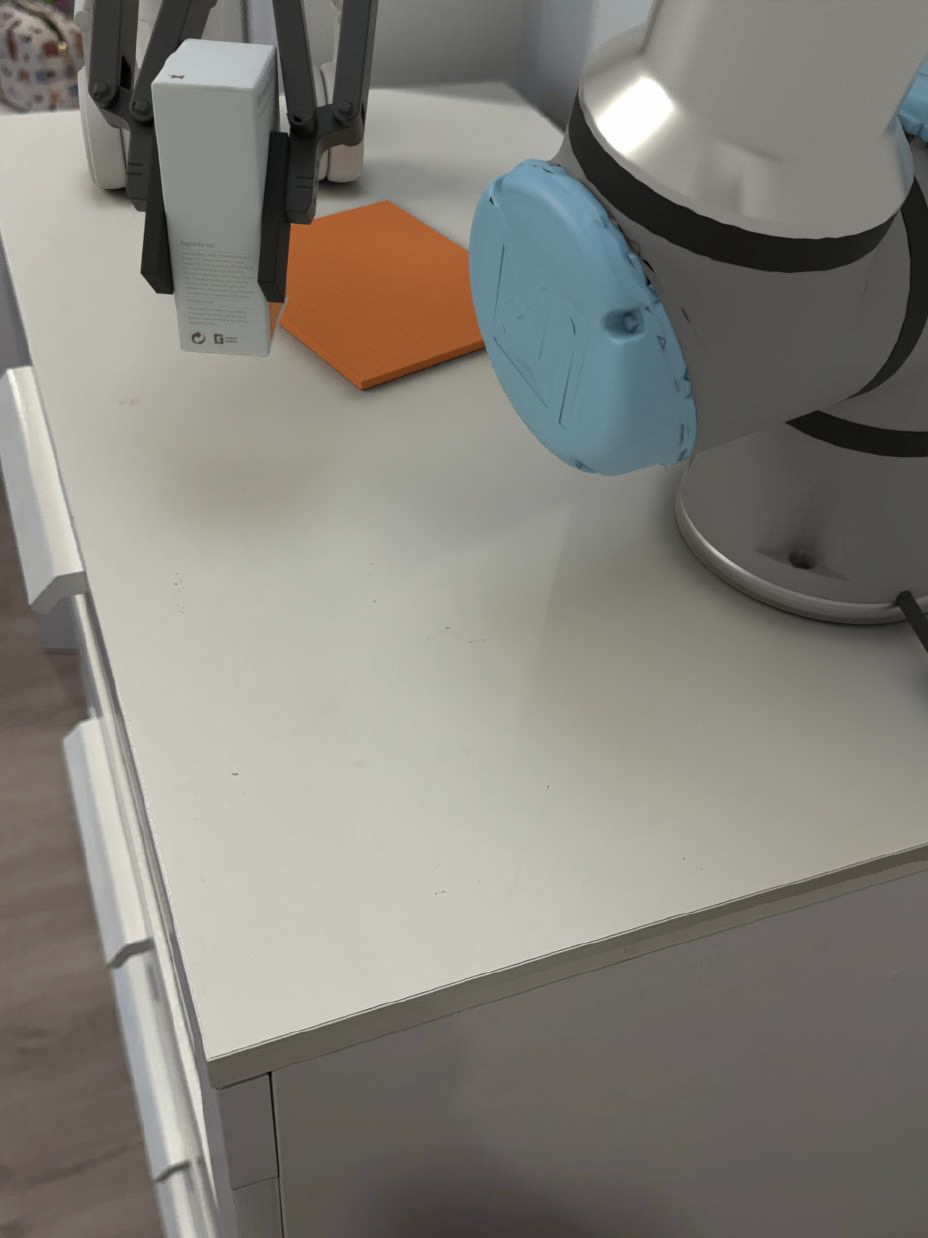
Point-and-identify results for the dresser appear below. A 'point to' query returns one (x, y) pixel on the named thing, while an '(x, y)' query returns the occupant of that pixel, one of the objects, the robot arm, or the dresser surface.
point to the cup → (147, 18)
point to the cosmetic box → (218, 190)
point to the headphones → (113, 144)
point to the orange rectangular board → (379, 294)
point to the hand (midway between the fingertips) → (214, 287)
